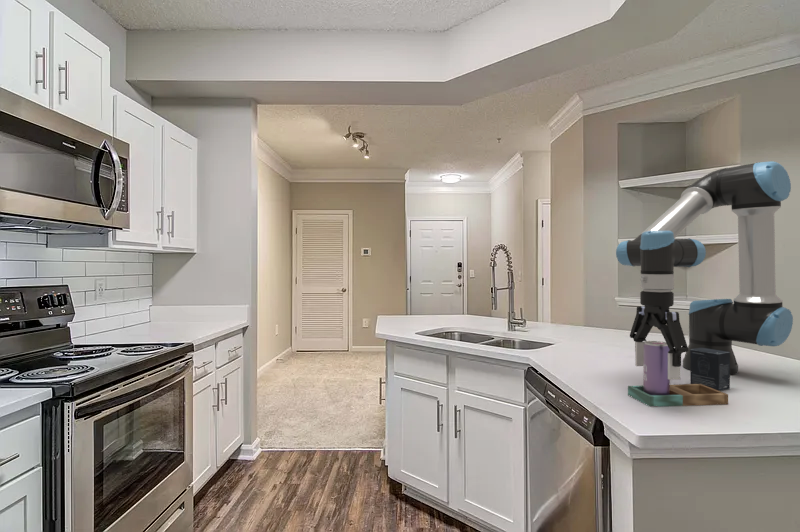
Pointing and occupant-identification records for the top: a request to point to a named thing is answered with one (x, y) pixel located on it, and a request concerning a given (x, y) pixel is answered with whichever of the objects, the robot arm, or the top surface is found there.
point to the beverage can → (656, 368)
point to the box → (710, 368)
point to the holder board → (681, 396)
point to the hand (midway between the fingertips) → (656, 372)
